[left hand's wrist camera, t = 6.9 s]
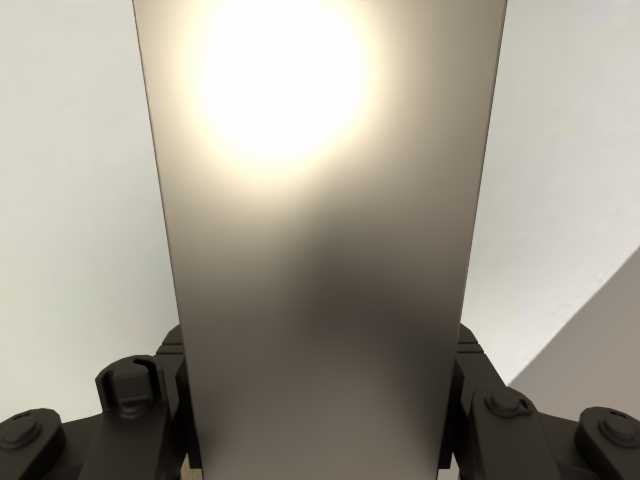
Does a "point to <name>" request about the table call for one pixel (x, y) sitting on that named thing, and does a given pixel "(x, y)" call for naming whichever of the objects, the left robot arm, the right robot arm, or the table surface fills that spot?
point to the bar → (319, 221)
